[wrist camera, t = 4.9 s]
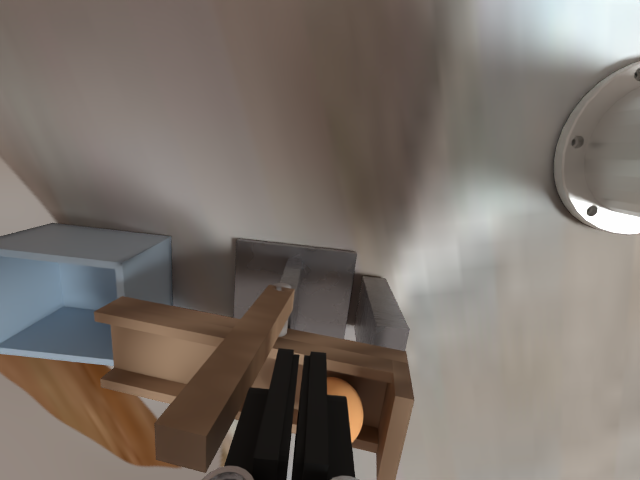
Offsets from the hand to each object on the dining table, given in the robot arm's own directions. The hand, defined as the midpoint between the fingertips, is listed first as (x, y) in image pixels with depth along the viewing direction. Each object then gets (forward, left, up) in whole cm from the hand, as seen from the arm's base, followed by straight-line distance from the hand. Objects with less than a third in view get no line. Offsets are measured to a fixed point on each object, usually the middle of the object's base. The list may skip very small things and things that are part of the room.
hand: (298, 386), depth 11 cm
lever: (+3, +4, -7) cm, 9 cm away
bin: (+17, +4, -16) cm, 24 cm away
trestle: (0, +4, -16) cm, 17 cm away
